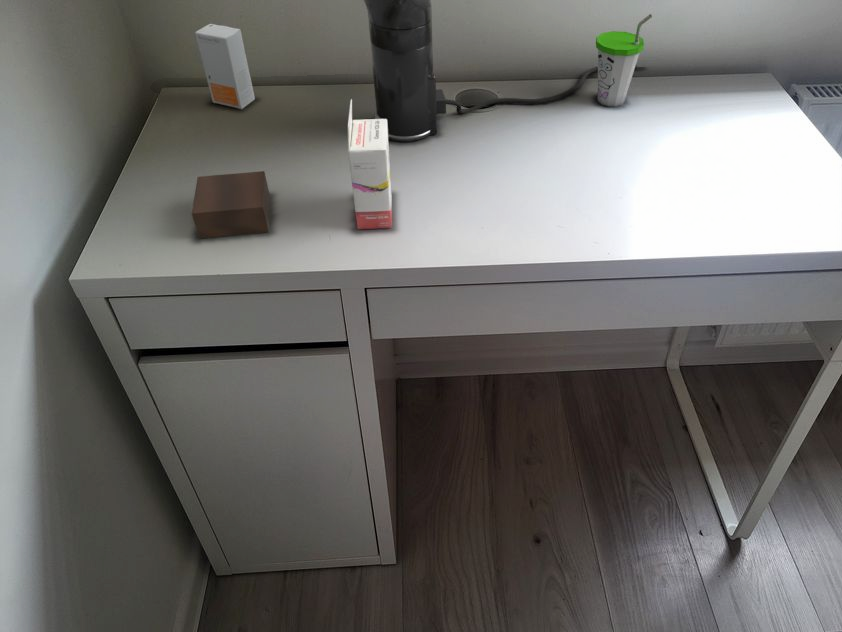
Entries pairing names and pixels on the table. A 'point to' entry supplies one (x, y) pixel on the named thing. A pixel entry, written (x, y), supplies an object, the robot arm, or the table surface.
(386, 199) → the ink cartridge box
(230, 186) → the block
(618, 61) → the cup
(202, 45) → the cosmetic box
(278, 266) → the table surface
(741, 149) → the table surface
